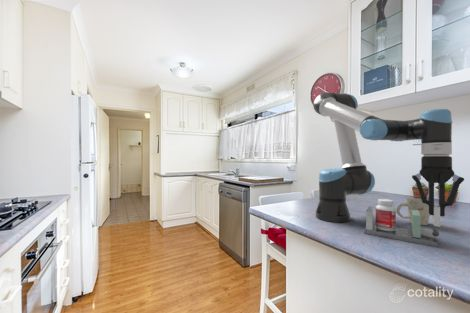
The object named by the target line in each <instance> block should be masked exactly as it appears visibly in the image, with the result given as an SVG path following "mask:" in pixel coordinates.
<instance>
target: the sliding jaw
mask: <svg viewBox="0 0 470 313" xmlns="http://www.w3.org/2000/svg"><path fill="white" fill-rule="evenodd" d="M411 211H412V223H411V230H412V235H413V237H416V238H421V234H423V235H429V236H435V237H439V235H440V232H439V231H438V230H437V229H432V228H425V227H421V225H420V213H419V210H411Z"/></svg>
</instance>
